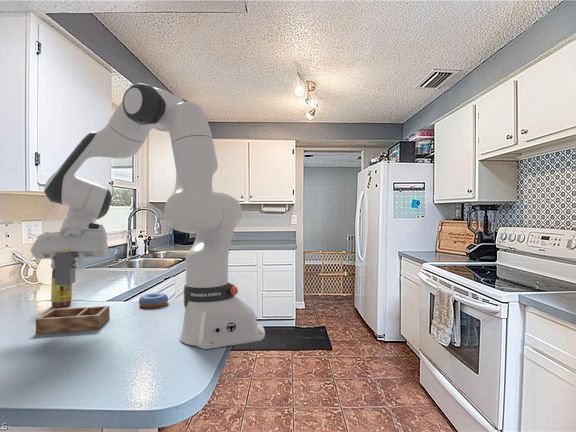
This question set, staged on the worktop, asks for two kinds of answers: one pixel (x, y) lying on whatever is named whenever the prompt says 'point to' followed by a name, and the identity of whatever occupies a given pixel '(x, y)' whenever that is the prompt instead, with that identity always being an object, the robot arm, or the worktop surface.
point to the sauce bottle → (60, 293)
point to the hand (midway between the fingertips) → (64, 267)
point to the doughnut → (153, 300)
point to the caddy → (73, 319)
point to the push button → (64, 267)
